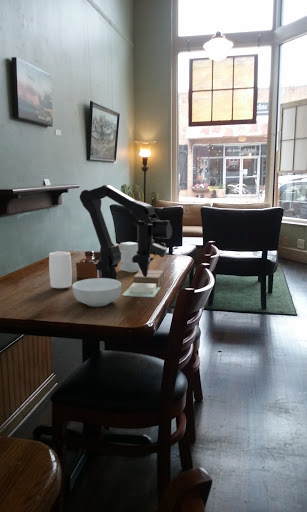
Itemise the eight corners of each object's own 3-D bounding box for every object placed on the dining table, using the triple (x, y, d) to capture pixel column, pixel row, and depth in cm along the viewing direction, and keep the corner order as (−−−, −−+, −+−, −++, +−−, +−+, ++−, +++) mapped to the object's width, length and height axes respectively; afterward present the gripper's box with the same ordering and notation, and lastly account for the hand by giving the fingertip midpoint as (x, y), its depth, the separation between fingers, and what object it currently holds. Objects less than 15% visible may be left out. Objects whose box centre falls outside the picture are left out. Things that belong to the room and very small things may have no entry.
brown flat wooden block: (158, 287, 168) (158, 277, 167) (133, 286, 170) (133, 276, 169) (164, 279, 181) (164, 270, 181) (141, 278, 183) (141, 269, 182)
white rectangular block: (156, 283, 165) (156, 288, 165) (133, 282, 166) (133, 287, 167) (153, 287, 159) (153, 292, 159) (129, 286, 161) (130, 291, 161)
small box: (141, 271, 198) (141, 243, 196) (130, 272, 194) (130, 244, 192) (131, 268, 205) (130, 241, 202) (120, 270, 201) (119, 242, 198)
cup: (50, 292, 162) (48, 255, 159) (49, 286, 170) (48, 251, 167) (73, 290, 164) (71, 254, 162) (71, 285, 172) (70, 250, 170)
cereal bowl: (63, 303, 147) (62, 283, 146) (101, 294, 159) (101, 275, 158) (92, 314, 135) (92, 292, 134) (131, 303, 147) (131, 283, 146)
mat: (153, 297, 154) (153, 296, 154) (121, 295, 156) (121, 295, 156) (160, 287, 168) (160, 287, 168) (131, 286, 170) (131, 285, 170)
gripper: (161, 241, 154) (161, 283, 157) (169, 234, 172) (169, 272, 175) (131, 240, 156) (132, 281, 159) (142, 234, 174) (142, 271, 177)
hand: (145, 276), depth 167 cm, fingers closed
